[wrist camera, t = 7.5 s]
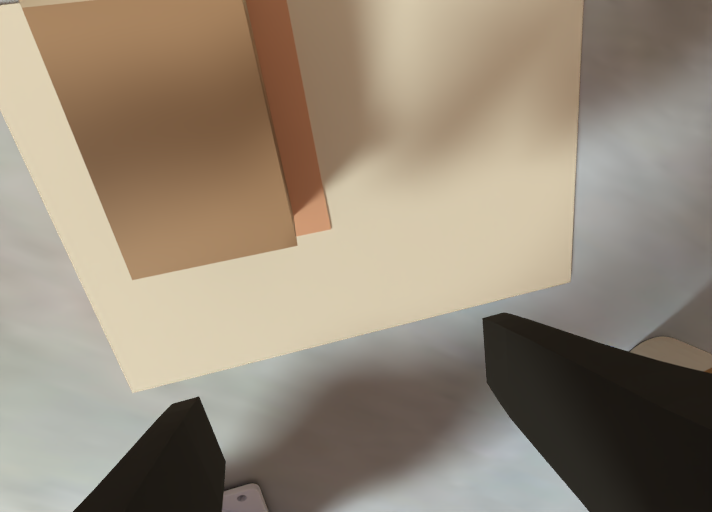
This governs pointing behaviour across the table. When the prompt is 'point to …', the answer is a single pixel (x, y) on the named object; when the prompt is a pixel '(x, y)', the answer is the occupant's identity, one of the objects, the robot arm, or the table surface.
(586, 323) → the table surface
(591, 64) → the table surface
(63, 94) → the two tone block
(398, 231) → the mat
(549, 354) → the robot arm
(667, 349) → the coffee cup
